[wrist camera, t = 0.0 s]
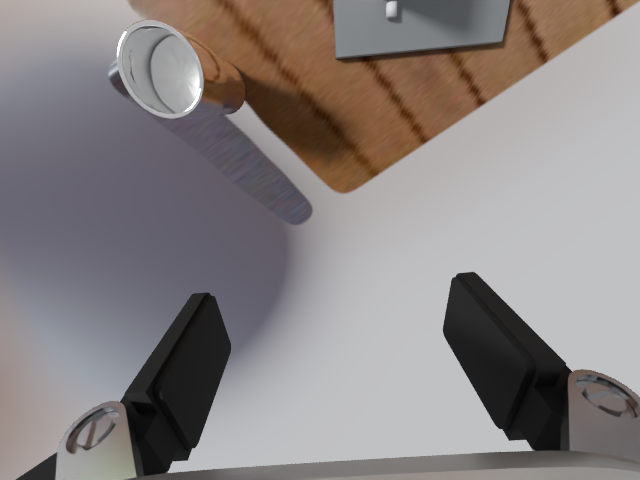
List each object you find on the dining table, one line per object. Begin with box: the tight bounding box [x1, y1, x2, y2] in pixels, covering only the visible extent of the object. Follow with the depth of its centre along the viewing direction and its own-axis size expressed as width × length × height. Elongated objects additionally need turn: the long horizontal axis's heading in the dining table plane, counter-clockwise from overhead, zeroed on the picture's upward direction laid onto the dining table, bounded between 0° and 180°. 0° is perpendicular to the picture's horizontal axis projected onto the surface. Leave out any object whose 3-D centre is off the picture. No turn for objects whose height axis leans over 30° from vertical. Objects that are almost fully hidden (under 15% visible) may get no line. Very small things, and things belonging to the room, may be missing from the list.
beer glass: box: [117, 20, 246, 120], centre depth 27 cm, size 7×7×15 cm
